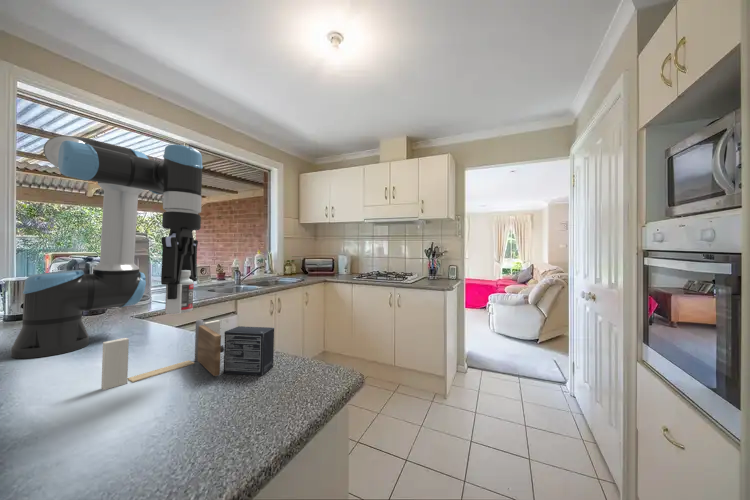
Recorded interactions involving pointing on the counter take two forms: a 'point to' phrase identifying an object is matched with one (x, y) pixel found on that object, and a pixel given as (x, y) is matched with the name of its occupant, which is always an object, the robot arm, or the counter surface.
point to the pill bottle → (186, 291)
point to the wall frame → (118, 360)
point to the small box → (248, 350)
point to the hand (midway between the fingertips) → (179, 310)
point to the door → (209, 349)
